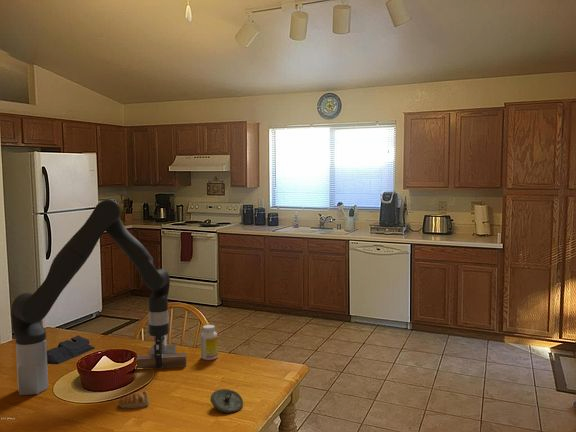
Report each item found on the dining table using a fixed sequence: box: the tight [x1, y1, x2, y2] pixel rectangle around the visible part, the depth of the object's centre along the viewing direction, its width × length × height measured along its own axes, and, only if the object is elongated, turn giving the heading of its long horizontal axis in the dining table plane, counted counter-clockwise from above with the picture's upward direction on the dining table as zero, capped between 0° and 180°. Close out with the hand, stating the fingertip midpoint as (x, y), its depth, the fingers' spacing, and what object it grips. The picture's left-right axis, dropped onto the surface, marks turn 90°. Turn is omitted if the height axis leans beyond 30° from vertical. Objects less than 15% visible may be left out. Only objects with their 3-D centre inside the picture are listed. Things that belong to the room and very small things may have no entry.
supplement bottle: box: [200, 324, 219, 361], centre depth 197 cm, size 7×7×13 cm
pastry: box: [117, 390, 150, 409], centre depth 157 cm, size 9×7×4 cm
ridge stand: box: [148, 334, 177, 355], centre depth 201 cm, size 10×10×10 cm
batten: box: [136, 352, 187, 369], centre depth 188 cm, size 4×20×4 cm, turn 99°
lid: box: [209, 388, 244, 414], centre depth 155 cm, size 11×10×5 cm
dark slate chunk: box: [47, 335, 96, 365], centre depth 202 cm, size 15×22×5 cm
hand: (159, 364), depth 188 cm, fingers open, 4 cm apart
